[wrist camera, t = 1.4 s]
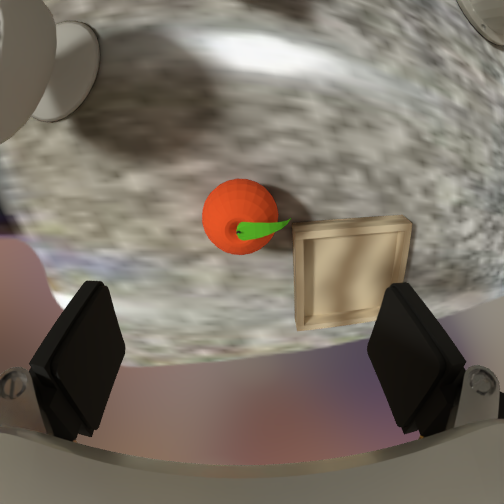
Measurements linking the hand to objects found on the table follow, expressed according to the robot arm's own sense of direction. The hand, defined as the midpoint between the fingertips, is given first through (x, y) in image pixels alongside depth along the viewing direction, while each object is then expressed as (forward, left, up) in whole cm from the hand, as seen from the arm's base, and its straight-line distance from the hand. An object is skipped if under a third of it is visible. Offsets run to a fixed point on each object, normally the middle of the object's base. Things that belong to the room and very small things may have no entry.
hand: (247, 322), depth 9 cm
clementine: (+1, +3, -22) cm, 22 cm away
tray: (-10, +12, -22) cm, 27 cm away
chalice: (+20, -16, -22) cm, 33 cm away
